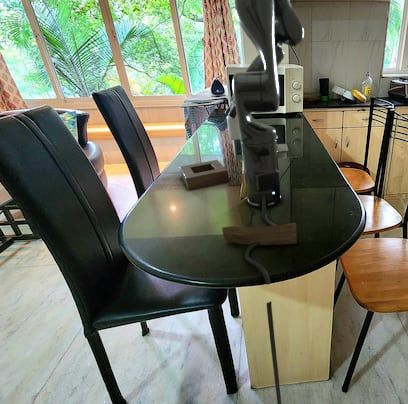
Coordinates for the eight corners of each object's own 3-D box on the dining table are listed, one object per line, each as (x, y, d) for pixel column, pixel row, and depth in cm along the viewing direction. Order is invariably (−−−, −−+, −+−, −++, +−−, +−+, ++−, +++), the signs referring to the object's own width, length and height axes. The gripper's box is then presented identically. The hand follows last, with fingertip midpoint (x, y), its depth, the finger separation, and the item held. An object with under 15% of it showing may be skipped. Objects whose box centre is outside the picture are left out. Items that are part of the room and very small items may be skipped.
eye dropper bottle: (230, 137, 101) (225, 101, 95) (246, 136, 101) (242, 100, 95) (229, 140, 97) (223, 103, 91) (245, 139, 97) (240, 102, 92)
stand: (229, 181, 94) (227, 170, 93) (188, 190, 89) (186, 178, 87) (218, 170, 105) (217, 159, 103) (182, 177, 99) (179, 166, 97)
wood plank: (296, 239, 62) (295, 220, 60) (296, 245, 61) (295, 225, 58) (227, 242, 63) (223, 223, 60) (225, 248, 61) (221, 228, 58)
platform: (288, 150, 123) (288, 135, 120) (247, 153, 122) (245, 138, 119) (286, 143, 134) (286, 129, 131) (248, 146, 132) (246, 131, 129)
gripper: (243, 64, 97) (214, 106, 98) (259, 64, 86) (226, 111, 86) (259, 80, 102) (231, 119, 102) (276, 82, 91) (244, 126, 91)
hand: (229, 115), depth 94 cm, fingers closed on eye dropper bottle, 3 cm apart
